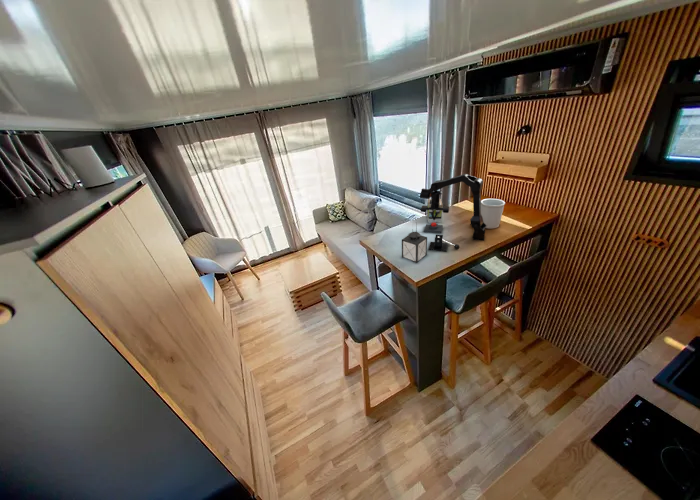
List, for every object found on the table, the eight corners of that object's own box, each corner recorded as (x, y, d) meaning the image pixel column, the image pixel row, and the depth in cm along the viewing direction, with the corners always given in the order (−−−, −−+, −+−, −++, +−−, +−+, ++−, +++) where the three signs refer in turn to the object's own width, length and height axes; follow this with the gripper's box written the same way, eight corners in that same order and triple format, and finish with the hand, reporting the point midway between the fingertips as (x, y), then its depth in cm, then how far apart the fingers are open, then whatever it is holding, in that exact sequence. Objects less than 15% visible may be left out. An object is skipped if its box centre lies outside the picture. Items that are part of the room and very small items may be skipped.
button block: (442, 227, 188) (442, 222, 186) (441, 233, 180) (441, 228, 178) (426, 226, 193) (426, 221, 191) (424, 232, 185) (424, 227, 183)
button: (436, 224, 185) (436, 222, 184) (435, 226, 183) (436, 224, 182) (431, 224, 187) (431, 222, 186) (430, 226, 184) (430, 224, 183)
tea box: (441, 222, 195) (442, 204, 188) (428, 223, 198) (428, 205, 190) (439, 215, 208) (440, 197, 200) (426, 215, 210) (427, 198, 203)
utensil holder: (485, 218, 192) (488, 196, 184) (504, 224, 181) (509, 201, 172) (473, 224, 186) (476, 202, 177) (492, 230, 175) (497, 207, 166)
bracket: (447, 244, 167) (448, 233, 162) (446, 252, 159) (447, 240, 155) (430, 243, 171) (431, 232, 167) (428, 250, 163) (428, 239, 159)
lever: (458, 248, 161) (460, 244, 159) (457, 250, 159) (460, 247, 157) (435, 238, 164) (438, 234, 162) (435, 241, 162) (437, 237, 160)
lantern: (416, 263, 152) (417, 221, 138) (401, 257, 160) (401, 217, 145) (426, 255, 159) (428, 214, 144) (411, 250, 166) (412, 210, 152)
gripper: (450, 195, 177) (448, 216, 184) (423, 195, 184) (422, 215, 192) (449, 201, 168) (447, 222, 176) (420, 200, 175) (420, 221, 183)
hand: (434, 220), depth 182 cm, fingers closed
